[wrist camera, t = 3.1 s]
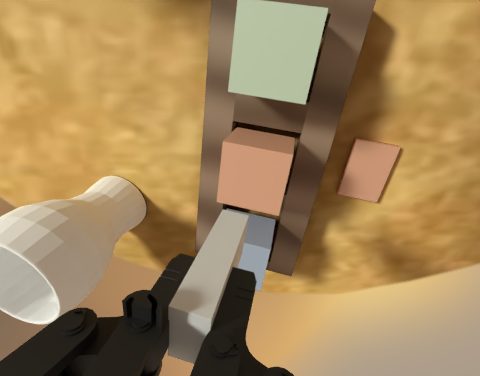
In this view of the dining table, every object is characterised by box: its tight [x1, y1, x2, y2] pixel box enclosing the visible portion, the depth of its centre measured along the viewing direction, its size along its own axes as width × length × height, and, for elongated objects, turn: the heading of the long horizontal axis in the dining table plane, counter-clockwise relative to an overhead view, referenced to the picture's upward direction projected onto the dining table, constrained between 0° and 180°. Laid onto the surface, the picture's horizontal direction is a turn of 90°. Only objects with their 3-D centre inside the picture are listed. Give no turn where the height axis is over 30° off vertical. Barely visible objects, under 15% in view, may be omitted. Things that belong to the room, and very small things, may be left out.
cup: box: [0, 176, 146, 324], centre depth 28 cm, size 11×11×15 cm
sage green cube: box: [228, 0, 328, 104], centre depth 19 cm, size 5×5×5 cm
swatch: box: [337, 138, 401, 202], centre depth 26 cm, size 6×4×1 cm, turn 172°
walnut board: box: [195, 0, 376, 276], centre depth 26 cm, size 27×12×3 cm, turn 172°
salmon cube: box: [217, 127, 295, 216], centre depth 23 cm, size 5×5×5 cm
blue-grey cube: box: [226, 209, 276, 291], centre depth 27 cm, size 5×5×5 cm
